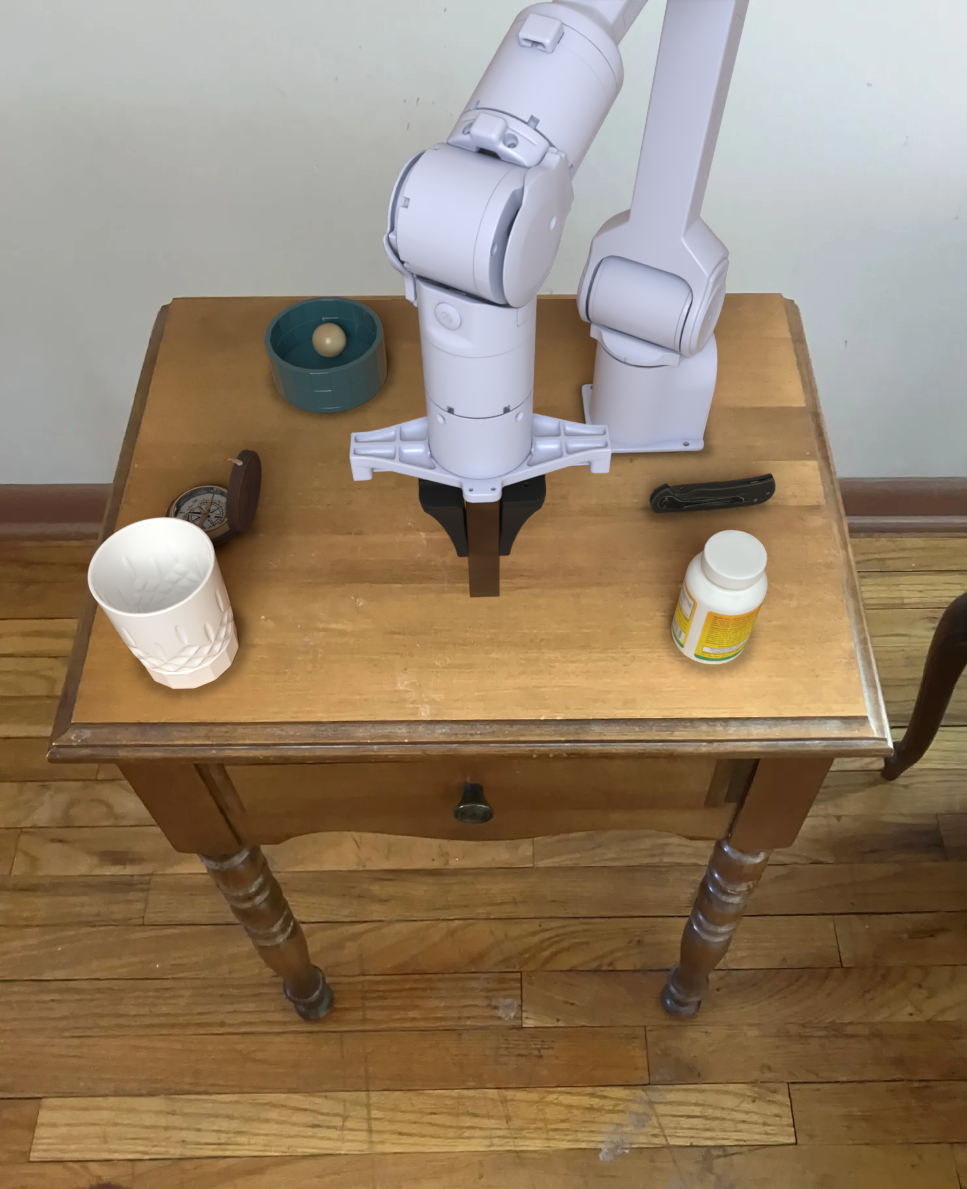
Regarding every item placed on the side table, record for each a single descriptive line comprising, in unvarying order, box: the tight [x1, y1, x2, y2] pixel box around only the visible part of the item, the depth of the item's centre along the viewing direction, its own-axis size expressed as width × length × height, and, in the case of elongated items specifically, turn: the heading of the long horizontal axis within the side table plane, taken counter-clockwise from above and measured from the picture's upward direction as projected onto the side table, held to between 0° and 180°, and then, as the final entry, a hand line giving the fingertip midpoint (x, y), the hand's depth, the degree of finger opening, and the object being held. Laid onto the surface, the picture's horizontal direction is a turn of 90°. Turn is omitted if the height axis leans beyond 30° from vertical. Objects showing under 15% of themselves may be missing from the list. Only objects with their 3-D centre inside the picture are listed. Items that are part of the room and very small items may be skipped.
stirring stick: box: [464, 499, 501, 599], centre depth 61 cm, size 2×2×10 cm
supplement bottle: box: [670, 529, 769, 665], centre depth 66 cm, size 5×5×10 cm
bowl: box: [263, 295, 388, 414], centre depth 84 cm, size 10×10×4 cm
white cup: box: [87, 516, 239, 690], centre depth 65 cm, size 8×8×10 cm
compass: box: [164, 449, 263, 548], centre depth 73 cm, size 8×8×7 cm
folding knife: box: [648, 472, 777, 514], centre depth 75 cm, size 10×1×3 cm, turn 96°
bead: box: [312, 323, 346, 358], centre depth 86 cm, size 3×3×3 cm
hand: (482, 544), depth 61 cm, fingers closed on stirring stick, 2 cm apart
